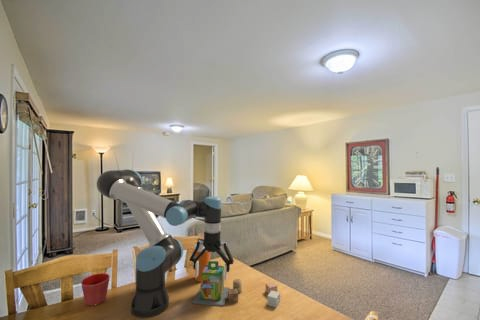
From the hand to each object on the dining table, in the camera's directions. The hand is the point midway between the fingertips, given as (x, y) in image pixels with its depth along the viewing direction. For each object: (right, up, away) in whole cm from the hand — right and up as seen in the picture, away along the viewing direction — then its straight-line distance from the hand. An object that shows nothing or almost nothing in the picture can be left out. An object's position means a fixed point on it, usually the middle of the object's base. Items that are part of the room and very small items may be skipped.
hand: (211, 277), depth 109 cm
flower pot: (-50, -8, -5) cm, 51 cm away
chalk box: (+1, -8, 0) cm, 8 cm away
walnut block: (+10, -8, -3) cm, 14 cm away
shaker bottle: (-7, -9, +16) cm, 19 cm away
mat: (0, -8, 0) cm, 8 cm away
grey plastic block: (+28, -9, -6) cm, 30 cm away
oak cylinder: (+12, -8, +3) cm, 15 cm away
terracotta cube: (+28, -9, +3) cm, 29 cm away
